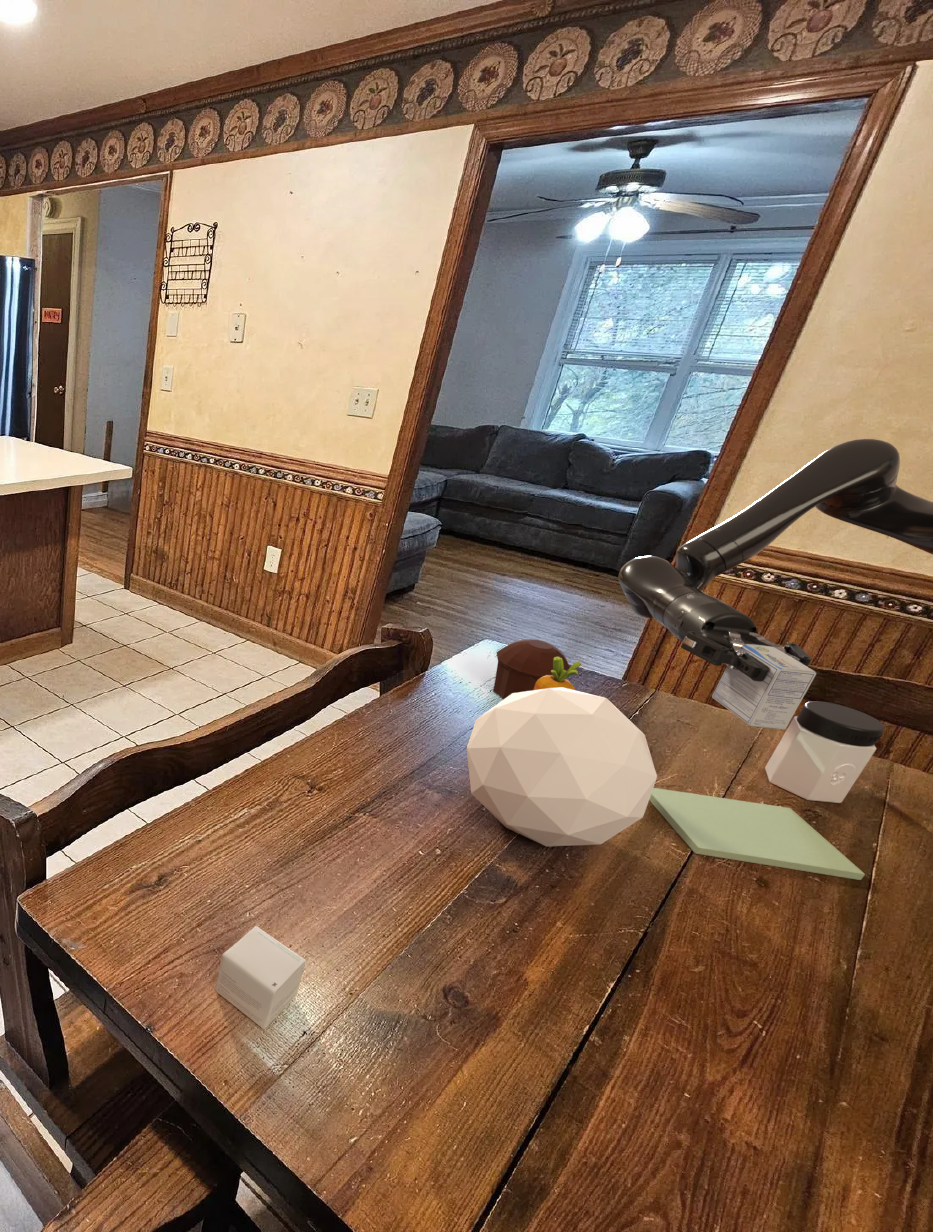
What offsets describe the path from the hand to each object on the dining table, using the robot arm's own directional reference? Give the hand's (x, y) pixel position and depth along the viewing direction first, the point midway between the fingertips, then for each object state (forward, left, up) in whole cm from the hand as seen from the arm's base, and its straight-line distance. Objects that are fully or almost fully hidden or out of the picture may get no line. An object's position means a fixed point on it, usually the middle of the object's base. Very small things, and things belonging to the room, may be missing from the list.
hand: (785, 677), depth 91 cm
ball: (+29, +13, -20) cm, 37 cm away
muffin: (+17, -26, -20) cm, 37 cm away
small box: (+65, +48, -20) cm, 83 cm away
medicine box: (0, -3, -7) cm, 8 cm away
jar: (-15, -8, -20) cm, 26 cm away
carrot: (+21, -9, -20) cm, 30 cm away
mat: (+1, +7, -20) cm, 21 cm away
